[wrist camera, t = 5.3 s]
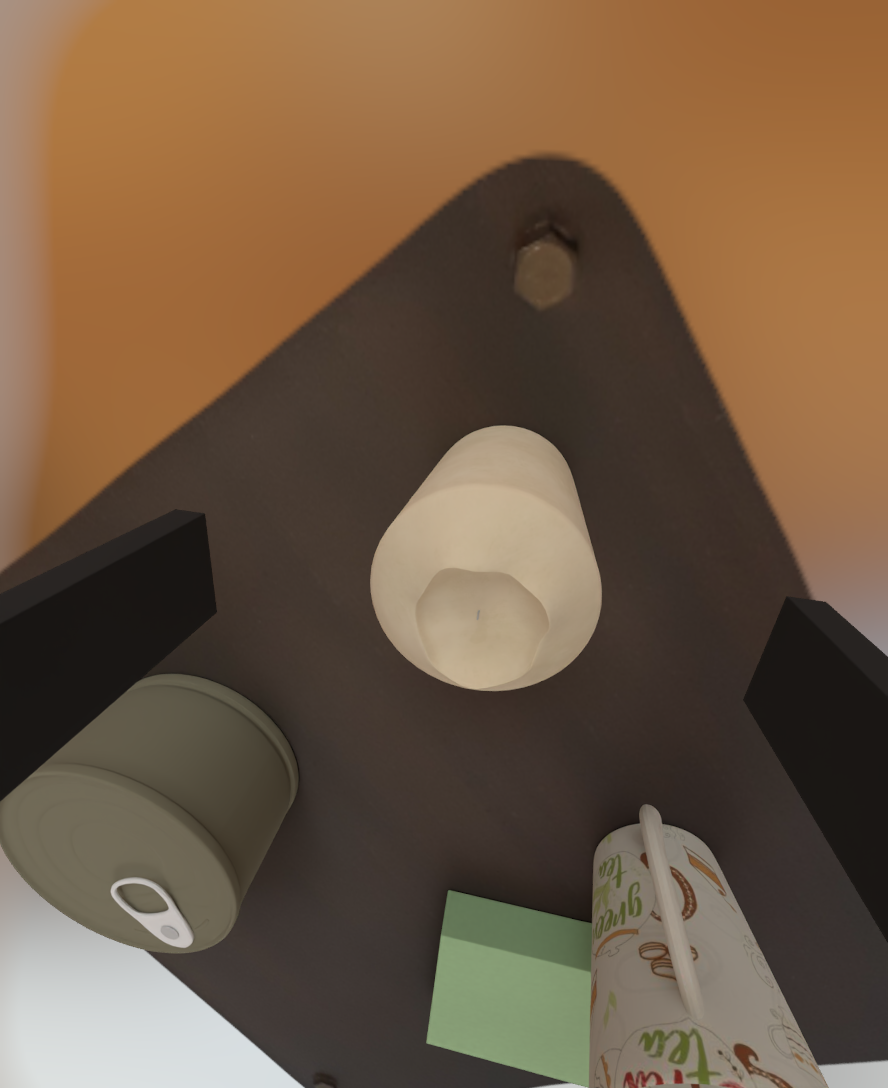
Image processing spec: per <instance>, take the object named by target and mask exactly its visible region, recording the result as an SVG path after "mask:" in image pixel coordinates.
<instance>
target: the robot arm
mask: <svg viewBox="0 0 888 1088" xmlns="http://www.w3.org/2000/svg"><path fill="white" fill-rule="evenodd" d="M216 612H217V610H216V602H215V593H214V585H213V577H212V568H211V560H210V552H209V543H208V535H207V527H206V519H205V514H204V513H197V512H190V511H183V510H176V509H175V510H173V511H171V512H169V513H167V514H165V515H163V516H161V517H159V518H157V519H155V520H153V521H150V522H148V523H146V524H144V525H142V526H140V527H138V528H136V529H134V530H132V531H130V532H128V533H126V534H124V535H121V536H119V537H117V538H115V539H113V540H111V541H109V542H107V543H105V544H103V545H101V546H99V547H97V548H95V549H92V550H90V551H88V552H86V553H84V554H82V555H80V556H78V557H76V558H74V559H72V560H70V561H68V562H66V563H63V564H61V565H59V566H57V567H55V568H53V569H51V570H49V571H47V572H45V573H43V574H41V575H39V576H36V577H34V578H32V579H30V580H28V581H26V582H24V583H22V584H20V585H18V586H16V587H14V588H12V589H10V590H7V591H5V592H3V593H1V594H0V801H2V800H3V799H4V798H5V797H6V796H7V795H8V794H10V793H11V792H12V791H13V790H14V789H15V788H16V787H18V786H19V785H20V784H21V783H22V782H23V781H24V780H26V779H27V778H28V777H29V776H30V775H31V774H32V773H34V772H35V771H36V770H37V769H38V768H39V767H40V766H42V765H43V764H44V763H45V762H46V761H47V760H48V759H50V758H51V757H52V756H53V755H54V754H55V753H56V752H58V751H59V750H60V749H61V748H62V747H63V746H64V745H66V744H67V743H68V742H69V741H70V740H71V739H72V738H74V737H75V736H76V735H77V734H78V733H79V732H80V731H82V730H83V729H84V728H85V727H86V726H87V725H88V724H90V723H91V722H92V721H93V720H94V719H95V718H96V717H98V716H99V715H100V714H101V713H102V712H103V711H104V710H106V709H107V708H108V707H109V706H110V705H111V704H112V703H114V702H115V701H116V700H117V699H118V698H119V697H120V696H122V695H123V694H124V693H125V692H126V691H127V690H128V689H130V688H131V687H132V686H133V685H134V684H135V683H136V682H138V681H139V680H140V679H141V678H142V677H143V676H144V675H146V674H147V673H148V672H149V671H150V670H151V669H152V668H153V667H155V666H156V665H157V664H158V663H159V662H160V661H161V660H163V659H164V658H165V657H166V656H167V655H168V654H169V653H171V652H172V651H173V650H174V649H175V648H176V647H177V646H179V645H180V644H181V643H182V642H183V641H184V640H185V639H187V638H188V637H189V636H190V635H191V634H192V633H193V632H195V631H196V630H197V629H198V628H199V627H200V626H201V625H203V624H204V623H205V622H206V621H207V620H208V619H209V618H211V617H212V616H213V615H214V614H215V613H216ZM743 700H744V702H745V703H746V705H747V707H748V708H749V710H750V712H751V714H752V715H753V717H754V719H755V720H756V722H757V724H758V725H759V727H760V729H761V730H762V732H763V734H764V735H765V737H766V739H767V740H768V742H769V744H770V746H771V747H772V749H773V751H774V752H775V754H776V756H777V757H778V759H779V761H780V762H781V764H782V766H783V767H784V769H785V771H786V772H787V774H788V776H789V777H790V779H791V781H792V783H793V784H794V786H795V788H796V789H797V791H798V793H799V794H800V796H801V798H802V799H803V801H804V803H805V804H806V806H807V808H808V809H809V811H810V813H811V814H812V816H813V818H814V820H815V821H816V823H817V825H818V826H819V828H820V830H821V831H822V833H823V835H824V836H825V838H826V840H827V841H828V843H829V845H830V846H831V848H832V850H833V851H834V853H835V855H836V857H837V858H838V860H839V862H840V863H841V865H842V867H843V868H844V870H845V872H846V873H847V875H848V877H849V878H850V880H851V882H852V883H853V885H854V887H855V888H856V890H857V892H858V894H859V895H860V897H861V899H862V900H863V902H864V904H865V905H866V907H867V909H868V910H869V912H870V914H871V915H872V917H873V919H874V920H875V922H876V924H877V925H878V927H879V929H880V931H881V932H882V934H883V936H884V937H885V939H886V941H887V942H888V657H887V656H886V655H885V654H884V653H883V652H882V651H881V650H879V649H878V648H877V647H876V646H875V645H874V644H873V643H872V642H870V641H869V640H868V639H867V638H866V637H865V636H864V635H863V634H861V633H860V632H859V631H858V630H857V629H856V628H855V627H854V626H852V625H851V624H850V623H849V622H848V621H847V620H846V619H844V618H843V617H842V616H841V615H840V614H839V613H837V611H835V610H834V609H833V608H832V607H831V606H830V605H829V604H827V603H826V602H823V601H815V600H808V599H801V598H794V597H786V599H785V601H784V604H783V606H782V609H781V611H780V613H779V616H778V618H777V621H776V623H775V625H774V628H773V630H772V632H771V635H770V637H769V640H768V642H767V644H766V647H765V649H764V652H763V654H762V656H761V659H760V661H759V663H758V666H757V668H756V671H755V673H754V675H753V678H752V680H751V683H750V685H749V687H748V690H747V692H746V694H745V697H744V699H743Z"/></svg>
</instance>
